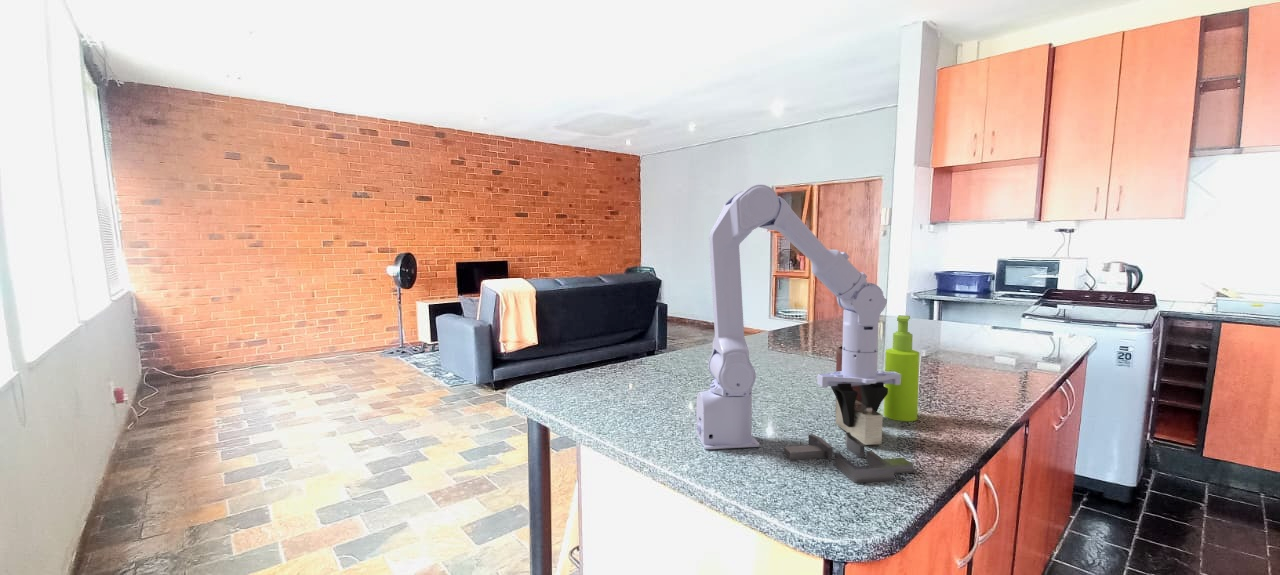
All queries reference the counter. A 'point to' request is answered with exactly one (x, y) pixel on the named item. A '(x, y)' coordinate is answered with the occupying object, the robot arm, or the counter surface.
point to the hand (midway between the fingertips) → (857, 424)
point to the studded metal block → (863, 424)
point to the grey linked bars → (872, 473)
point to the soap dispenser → (902, 375)
